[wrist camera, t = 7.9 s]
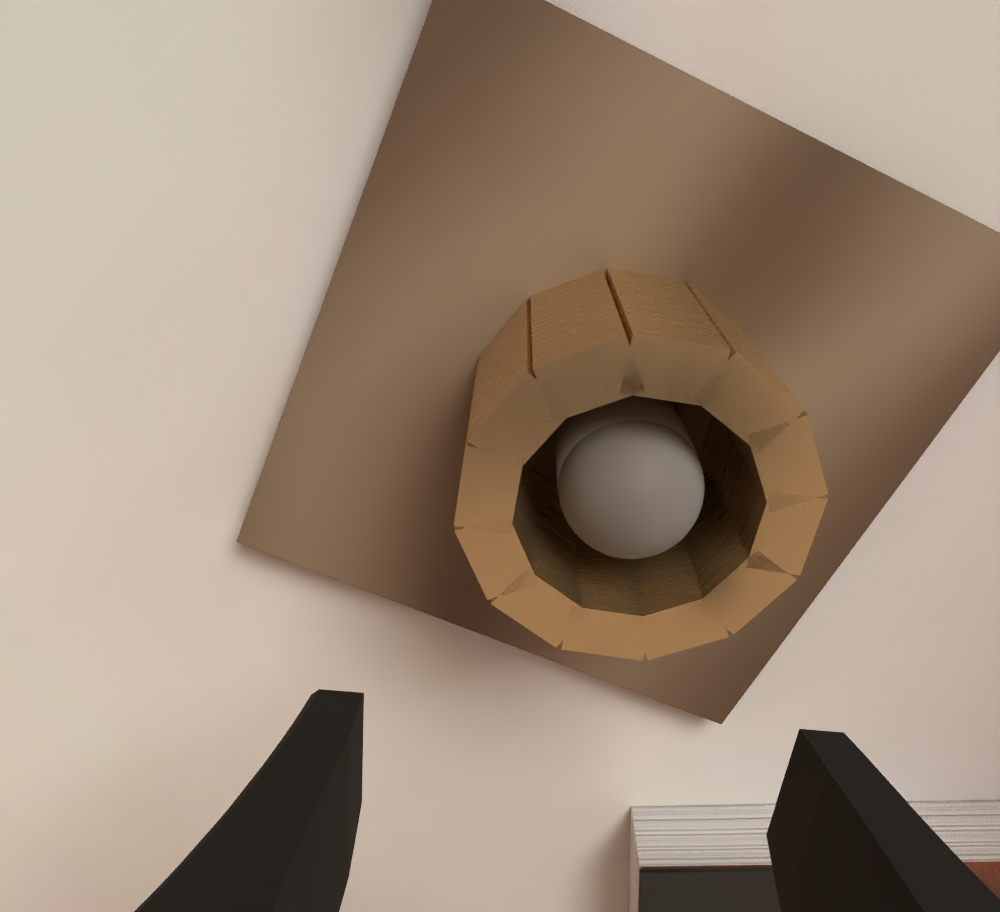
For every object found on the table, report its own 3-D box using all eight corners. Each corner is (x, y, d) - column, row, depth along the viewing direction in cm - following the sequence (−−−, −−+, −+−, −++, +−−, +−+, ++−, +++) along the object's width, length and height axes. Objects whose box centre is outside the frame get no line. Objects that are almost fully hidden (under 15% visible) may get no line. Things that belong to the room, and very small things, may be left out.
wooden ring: (786, 485, 17) (855, 600, 14) (530, 566, 18) (532, 693, 15) (714, 226, 15) (774, 282, 12) (427, 334, 16) (399, 416, 12)
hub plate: (1044, 258, 16) (1241, 336, 11) (715, 706, 21) (767, 880, 16) (453, -44, 14) (420, -87, 10) (244, 527, 19) (161, 670, 14)
